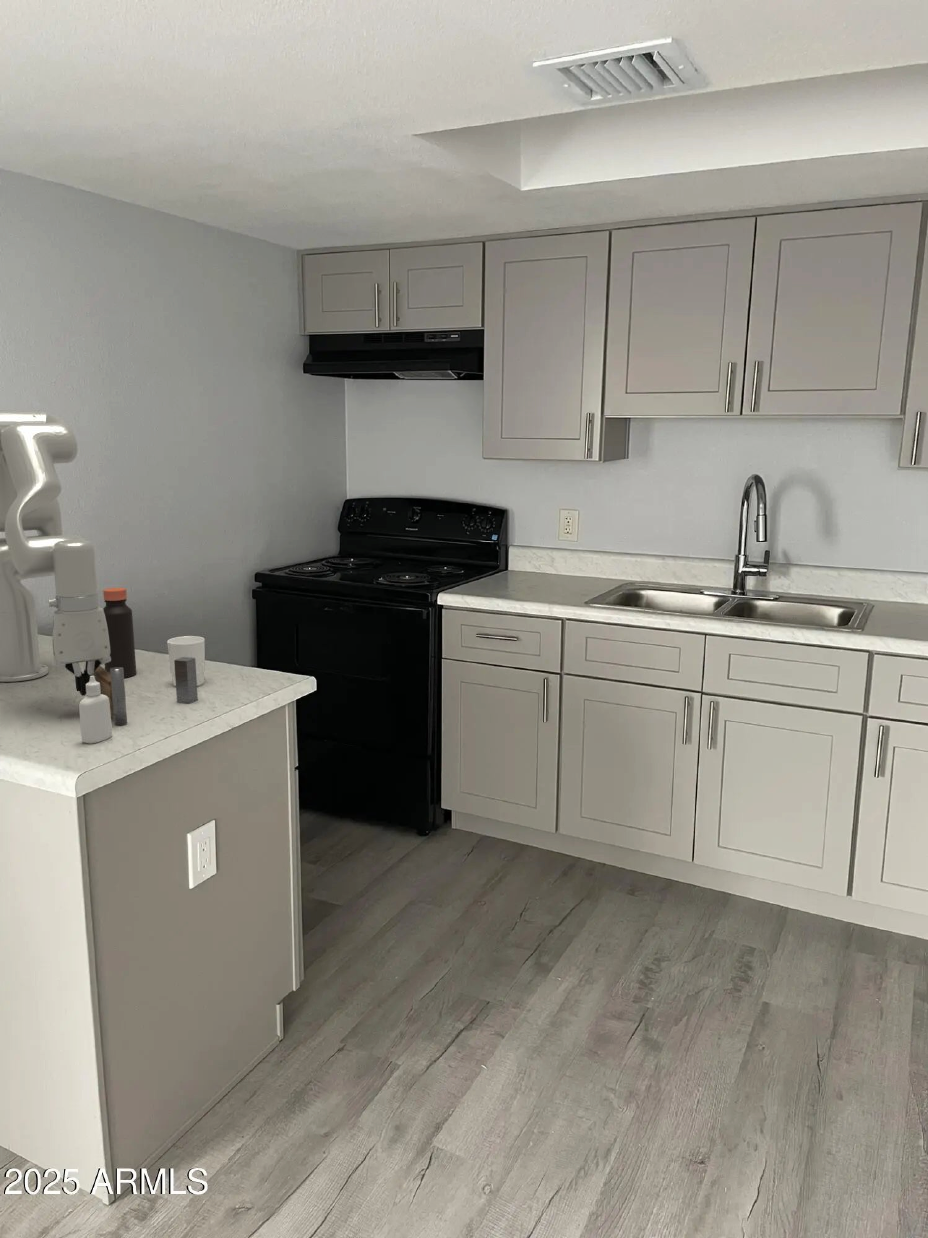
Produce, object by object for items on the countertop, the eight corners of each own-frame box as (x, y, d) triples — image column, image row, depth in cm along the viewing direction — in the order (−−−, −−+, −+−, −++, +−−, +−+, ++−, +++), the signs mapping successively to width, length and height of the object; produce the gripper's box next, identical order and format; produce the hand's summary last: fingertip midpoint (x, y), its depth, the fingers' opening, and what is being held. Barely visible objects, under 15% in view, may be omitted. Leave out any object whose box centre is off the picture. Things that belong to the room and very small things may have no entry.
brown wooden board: (111, 716, 187) (108, 681, 186) (89, 697, 200) (87, 664, 198) (121, 714, 188) (119, 680, 187) (99, 696, 201) (97, 663, 200)
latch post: (176, 702, 200) (174, 660, 198) (185, 698, 203) (183, 656, 201) (189, 703, 199) (186, 661, 197) (197, 699, 202) (195, 657, 200)
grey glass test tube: (111, 725, 185) (107, 669, 183) (119, 721, 187) (115, 666, 185) (121, 726, 184) (117, 670, 182) (130, 722, 187) (125, 667, 184)
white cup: (196, 689, 210) (194, 644, 208) (163, 687, 211) (160, 643, 209) (213, 680, 217) (210, 636, 215) (180, 678, 219) (178, 635, 217)
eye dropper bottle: (78, 739, 177) (73, 676, 175) (109, 733, 180) (104, 671, 178) (84, 745, 174) (78, 681, 171) (116, 739, 177) (111, 676, 174)
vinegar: (99, 678, 219) (92, 591, 215) (114, 670, 225) (108, 586, 221) (127, 679, 218) (121, 592, 213) (142, 672, 224) (136, 587, 220)
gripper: (39, 610, 181) (47, 704, 185) (121, 602, 189) (128, 693, 193) (33, 603, 187) (41, 694, 191) (113, 596, 195) (119, 684, 199)
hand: (85, 693), depth 192 cm, fingers closed
